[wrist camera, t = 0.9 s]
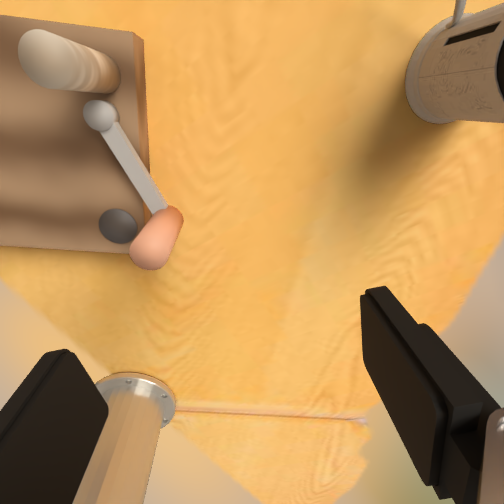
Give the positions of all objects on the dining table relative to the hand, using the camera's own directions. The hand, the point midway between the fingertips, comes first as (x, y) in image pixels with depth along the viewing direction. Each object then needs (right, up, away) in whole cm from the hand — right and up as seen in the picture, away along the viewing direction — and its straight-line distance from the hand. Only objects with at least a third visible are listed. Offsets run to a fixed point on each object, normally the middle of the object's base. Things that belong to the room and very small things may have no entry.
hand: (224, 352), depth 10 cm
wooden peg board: (-18, +13, +19) cm, 29 cm away
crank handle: (-9, +10, +17) cm, 22 cm away
